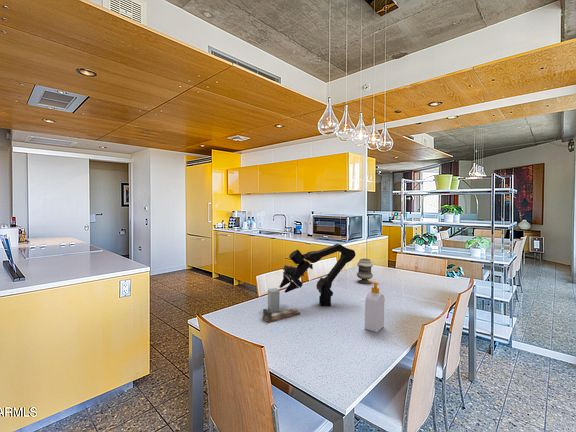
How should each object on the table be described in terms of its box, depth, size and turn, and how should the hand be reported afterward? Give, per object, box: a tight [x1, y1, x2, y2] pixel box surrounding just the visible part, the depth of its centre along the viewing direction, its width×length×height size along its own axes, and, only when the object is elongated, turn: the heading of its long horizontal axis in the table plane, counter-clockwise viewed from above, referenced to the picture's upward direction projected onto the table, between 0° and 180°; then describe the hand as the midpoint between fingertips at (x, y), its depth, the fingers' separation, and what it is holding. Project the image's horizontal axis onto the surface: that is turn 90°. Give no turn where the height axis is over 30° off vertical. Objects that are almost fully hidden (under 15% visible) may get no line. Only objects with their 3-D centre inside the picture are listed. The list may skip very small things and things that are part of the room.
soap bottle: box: [364, 280, 386, 333], centre depth 142 cm, size 9×7×23 cm
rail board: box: [262, 307, 302, 323], centre depth 155 cm, size 20×7×5 cm, turn 126°
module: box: [267, 287, 280, 314], centre depth 162 cm, size 5×6×12 cm
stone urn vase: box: [356, 257, 374, 285], centre depth 222 cm, size 12×12×18 cm
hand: (282, 289), depth 164 cm, fingers open, 9 cm apart
